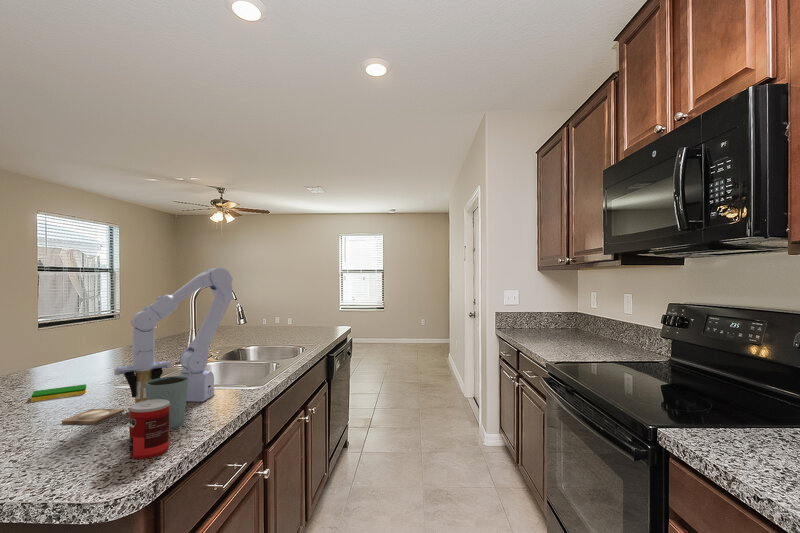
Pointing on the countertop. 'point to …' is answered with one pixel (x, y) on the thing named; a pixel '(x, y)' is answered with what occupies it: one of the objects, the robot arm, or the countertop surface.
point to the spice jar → (141, 384)
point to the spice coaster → (93, 416)
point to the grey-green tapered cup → (170, 396)
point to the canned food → (149, 428)
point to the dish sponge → (58, 392)
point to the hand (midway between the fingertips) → (143, 394)
